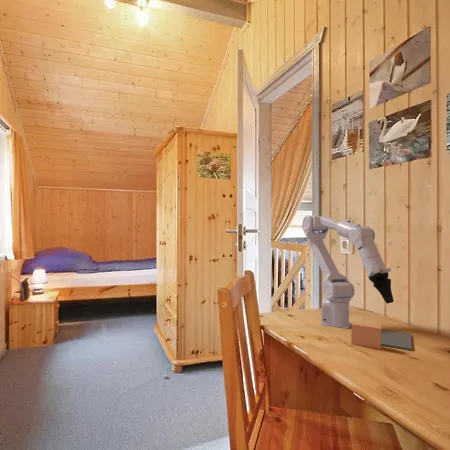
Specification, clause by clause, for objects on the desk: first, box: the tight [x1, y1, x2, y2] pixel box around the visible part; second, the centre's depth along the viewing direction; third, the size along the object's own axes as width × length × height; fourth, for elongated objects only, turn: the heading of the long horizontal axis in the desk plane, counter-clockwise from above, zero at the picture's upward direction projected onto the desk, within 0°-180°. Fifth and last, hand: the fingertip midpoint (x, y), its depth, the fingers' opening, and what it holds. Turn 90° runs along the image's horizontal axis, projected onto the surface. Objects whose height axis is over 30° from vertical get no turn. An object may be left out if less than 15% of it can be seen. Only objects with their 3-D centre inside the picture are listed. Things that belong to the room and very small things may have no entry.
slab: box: [350, 322, 382, 350], centre depth 98 cm, size 8×2×6 cm, turn 62°
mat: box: [381, 329, 413, 352], centre depth 105 cm, size 14×16×1 cm
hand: (389, 300), depth 100 cm, fingers open, 7 cm apart
